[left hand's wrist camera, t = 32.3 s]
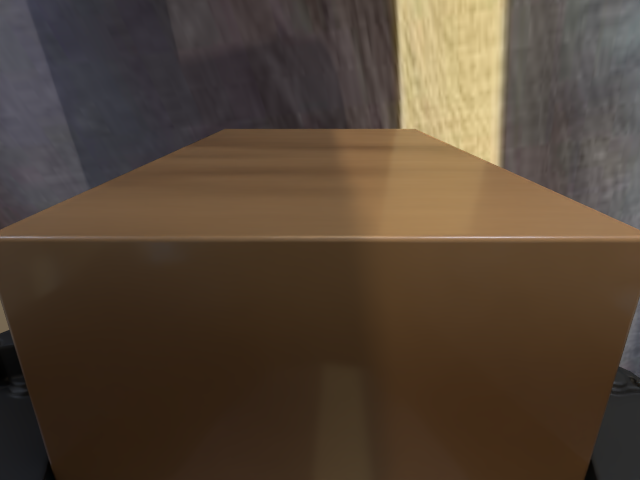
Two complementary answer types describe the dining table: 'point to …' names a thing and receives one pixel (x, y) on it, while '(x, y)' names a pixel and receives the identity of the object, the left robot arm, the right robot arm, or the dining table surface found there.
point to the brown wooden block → (319, 315)
